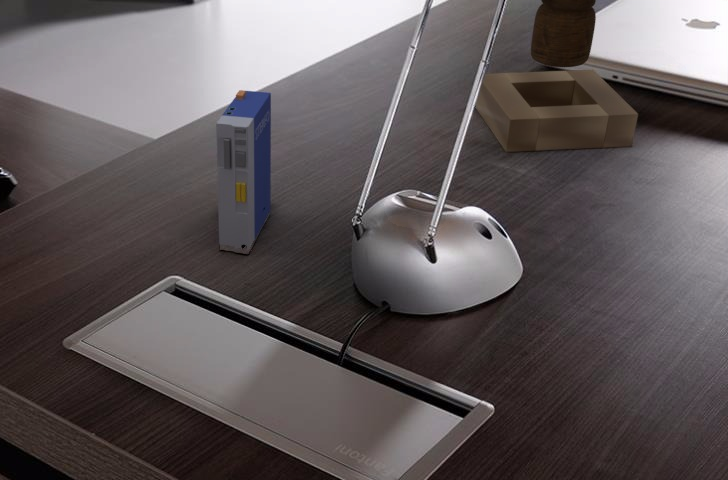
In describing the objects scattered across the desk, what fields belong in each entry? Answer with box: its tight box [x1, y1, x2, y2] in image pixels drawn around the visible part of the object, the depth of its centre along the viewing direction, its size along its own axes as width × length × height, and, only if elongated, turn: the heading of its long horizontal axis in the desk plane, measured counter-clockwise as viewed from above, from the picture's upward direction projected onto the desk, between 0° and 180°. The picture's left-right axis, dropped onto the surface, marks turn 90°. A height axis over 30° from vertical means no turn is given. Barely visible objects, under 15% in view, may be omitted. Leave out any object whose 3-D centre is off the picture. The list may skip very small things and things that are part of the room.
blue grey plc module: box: [215, 89, 272, 250], centre depth 93 cm, size 8×3×12 cm, turn 164°
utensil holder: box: [530, 0, 597, 68], centre depth 108 cm, size 6×6×12 cm
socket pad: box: [474, 68, 639, 153], centre depth 114 cm, size 13×13×4 cm
